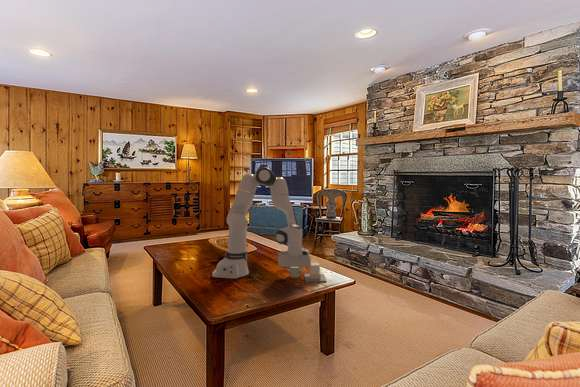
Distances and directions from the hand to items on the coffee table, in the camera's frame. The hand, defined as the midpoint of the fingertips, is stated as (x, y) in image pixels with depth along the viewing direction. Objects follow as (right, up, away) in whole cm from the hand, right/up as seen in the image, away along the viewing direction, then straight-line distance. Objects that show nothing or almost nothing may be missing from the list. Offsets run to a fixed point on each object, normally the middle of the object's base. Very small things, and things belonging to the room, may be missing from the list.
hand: (294, 273), depth 189 cm
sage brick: (0, -2, 0) cm, 2 cm away
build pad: (+12, -2, -5) cm, 13 cm away
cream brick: (+12, +2, -5) cm, 13 cm away
